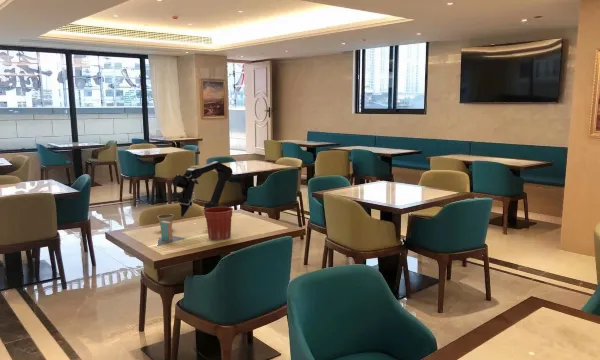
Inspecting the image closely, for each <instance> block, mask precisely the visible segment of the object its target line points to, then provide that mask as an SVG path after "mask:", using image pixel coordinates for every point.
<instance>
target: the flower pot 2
mask: <svg viewBox="0 0 600 360" xmlns="http://www.w3.org/2000/svg"><path fill="white" fill-rule="evenodd" d="M233 211H234V208H233V207H231V206H219V207H212V208H207V209H205V210H204V209H203V213H204V212H205V214H204V217H205V221H206V228H207V235H208V238H209V239H210V240H212V241H220V240H227V239H230V238H231V235H232V234H231V233H232V216H233Z"/></svg>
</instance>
